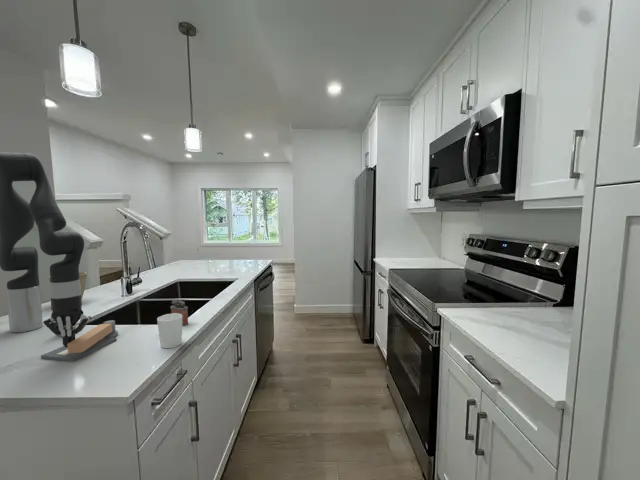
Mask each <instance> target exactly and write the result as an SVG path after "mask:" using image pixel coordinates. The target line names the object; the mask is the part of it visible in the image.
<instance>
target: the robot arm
mask: <svg viewBox="0 0 640 480" xmlns="http://www.w3.org/2000/svg"><path fill="white" fill-rule="evenodd" d="M47 175H48V174H47V173H46V170H45V166H44V164H43V162H42V160H41V159H40V157H38V156H37V155H36V154H34V153H30V152H11V151H10V152H9V151H7V152H6V151H2V152H0V269H1V270H2V271H3V272H17V271H26V270H27V271H26V272H25V273H24V274H22V275H21V276H18V277H16V278H13V279H11V280H9V281H7V282H6V290H7V291H6V292H7V299H8V301H7V302H8V307H7V315H8V324H9V325H8V326H9V331H10V332H11V333H24V332H25V333H26V332H29V331H33V330H37V329H41V328H42V327H43V326H44V325H45V326H46V327H47V328H48V329H49V330H50V331H51V332H52V333H53V334H54V335H55V336H59V335H61V337H62V346H65V347H68V346H67V344H68V343H70V342H71V341H73V340H75V339H76V335H77V334H78V333H80V332H82V331H83V330H84V328H85V327H86V326H87V325H88V323H89V322H90V321H91V320H92V317H91V316H86V315H85V314H84V311H83V309H82V306H83V297H82V298H81V285H80V280H79V272H80V268H79V267H80V263H81V258H82V257H83V256H82V255H83V253H84V248H85V240H84V238H83V236H82V235H81V234H80V233H78V232H76V231H68V232H66V231H65V232H59V231H61V230H63V229H64V228H65V227H66V226H67V220H66V218H65V217H64V215H63V212H61V209H60V208H59V206H58V204H57V201H56V199H55V196H54V193H53V191H52V187H51V184H50V181H49V178H48V176H47ZM14 182H35V191H34V193H33V194H32V197H31V199H30V201H27V200H26V199H25V198H24V197H23V196H21V195H20V194H19V193H18V192H17V191H16V189H15V188H14V186H13V183H14ZM35 224H36V226H37V230H38V231H37V232H38V237H39V248H40V250H41V251H42V252H43V253H44V254H45V255H47V256H52V257H54V256H63V255H65V256H64V258H63V259H62V260H59V261H57V262H54V263H52V264H51V265H50V266H49V276H50V281H49V283H50V282H51V284H50V286H49V297H50V310H51V311H52V313H51V314H50V317H48V319H45V320H44V321H43V310H42V308H43V307H42V298H41V297H42V296H41V288H40V275H39V254H38V250H37V248H36V247H34V246H18V247H15V246H16V244H17V243H18V242H19V241H20V240H22V239H23V238H24V237H25V236H26V235H28V234H29V233H30V231H31V230H32V229H33V228H34V225H35ZM78 322H79V324H78Z"/></svg>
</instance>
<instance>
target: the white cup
mask: <svg viewBox="0 0 640 480" xmlns="http://www.w3.org/2000/svg"><path fill="white" fill-rule="evenodd" d="M156 321H157V330H158V337H159V338H158V339H159V343H160V344H159V345H160V348H162V349H173V348H176V347H178V346H180V345H181V344H182V343H183V341H182V340H183V338H182V335H183V326H182V314H178V313H173V314H171V313H166V314H163V315H161V316H158V317H157V318H156Z"/></svg>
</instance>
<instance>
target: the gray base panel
mask: <svg viewBox="0 0 640 480" xmlns="http://www.w3.org/2000/svg"><path fill="white" fill-rule="evenodd" d="M118 335H119V332H118V330H117V329H115V332H114V333H111V334H108V335H106V336H105V337H104V338H102V339H101V340H99V341H98V342H96V343H95V344H93V345H92V346H90V347H89V348H88V349H86V350H85V351H83V352H79V353H68V347H65V346H64V345H62V346H61V347H58V348H56V349H53V350H51V351H48V352H46V353H43V354H41V355H40V359H42V360H44V359H45V360H52V361H61V362H70V363H73V362H74V361H75V362H76V360H79V359H80V358H83V357H86V356H87V355H89V354H91V353H93V352H95V351H97V350H100V349H102V348H104V347H107V346H108V345H110V344H112V343H114V342H117V338H116V337H118Z"/></svg>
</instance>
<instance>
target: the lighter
mask: <svg viewBox="0 0 640 480" xmlns="http://www.w3.org/2000/svg"><path fill="white" fill-rule="evenodd" d="M171 304H172V305H171V306H170V310H171V311H170V312H171V313H170V314H173V313H178V314H182V327H187V326H189V325H188V324H189V315H188V309H189V306H186V303H185V301H183V300H171ZM186 325H187V326H186Z"/></svg>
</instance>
